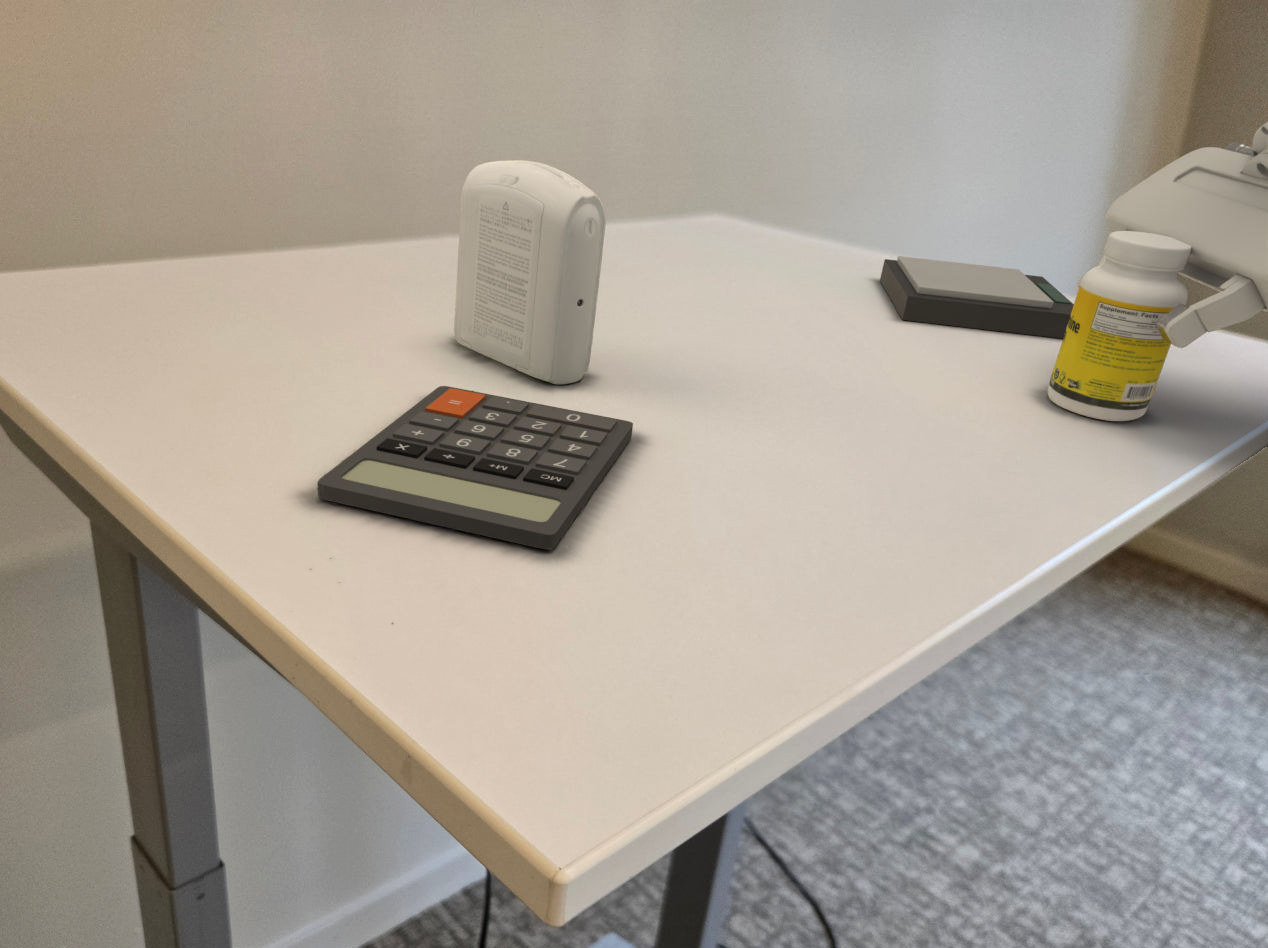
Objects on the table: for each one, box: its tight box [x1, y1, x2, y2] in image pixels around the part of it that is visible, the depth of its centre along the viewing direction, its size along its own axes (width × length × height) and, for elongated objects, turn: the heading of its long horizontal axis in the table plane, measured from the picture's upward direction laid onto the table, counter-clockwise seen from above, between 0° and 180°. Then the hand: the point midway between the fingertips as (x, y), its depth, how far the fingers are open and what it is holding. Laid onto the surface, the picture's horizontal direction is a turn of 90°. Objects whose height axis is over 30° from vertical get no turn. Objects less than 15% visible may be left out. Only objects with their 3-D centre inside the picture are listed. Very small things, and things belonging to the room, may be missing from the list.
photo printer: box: [453, 159, 607, 385], centre depth 67 cm, size 10×4×12 cm, turn 45°
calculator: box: [317, 385, 634, 550], centre depth 55 cm, size 12×1×15 cm
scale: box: [879, 255, 1074, 340], centre depth 91 cm, size 14×13×3 cm
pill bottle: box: [1047, 231, 1191, 422], centre depth 69 cm, size 6×6×11 cm
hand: (1123, 314), depth 68 cm, fingers open, 8 cm apart
